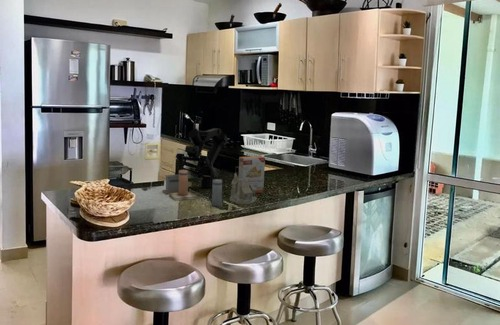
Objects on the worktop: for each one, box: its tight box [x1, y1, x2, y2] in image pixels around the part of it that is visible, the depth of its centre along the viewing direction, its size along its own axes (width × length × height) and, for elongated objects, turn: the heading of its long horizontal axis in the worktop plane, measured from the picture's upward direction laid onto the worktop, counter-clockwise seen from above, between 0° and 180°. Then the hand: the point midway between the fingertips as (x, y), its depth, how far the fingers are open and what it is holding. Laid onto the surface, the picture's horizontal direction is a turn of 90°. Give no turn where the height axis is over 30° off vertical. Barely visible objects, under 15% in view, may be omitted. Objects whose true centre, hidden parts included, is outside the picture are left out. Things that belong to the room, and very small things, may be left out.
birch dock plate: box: [168, 191, 198, 202], centre depth 243 cm, size 12×11×2 cm
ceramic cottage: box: [229, 172, 258, 205], centre depth 241 cm, size 16×16×15 cm
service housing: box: [162, 174, 179, 195], centre depth 254 cm, size 11×7×10 cm, turn 117°
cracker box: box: [237, 155, 266, 194], centre depth 258 cm, size 14×6×21 cm, turn 118°
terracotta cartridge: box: [178, 169, 189, 195], centre depth 242 cm, size 5×5×13 cm
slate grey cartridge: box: [211, 178, 223, 207], centre depth 229 cm, size 5×5×13 cm
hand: (187, 171), depth 245 cm, fingers open, 9 cm apart
